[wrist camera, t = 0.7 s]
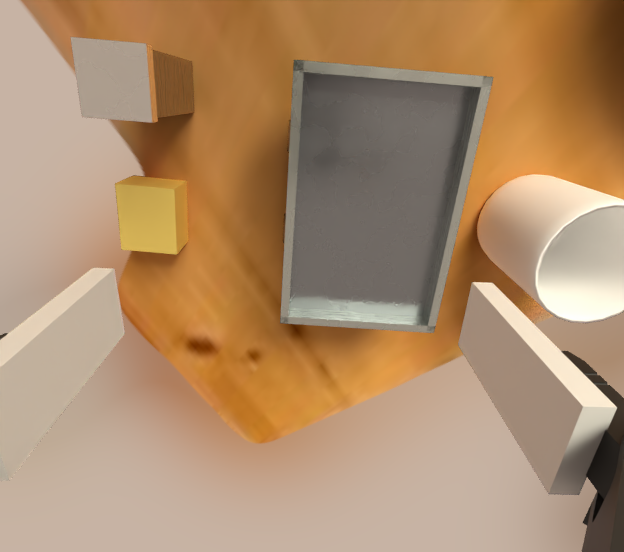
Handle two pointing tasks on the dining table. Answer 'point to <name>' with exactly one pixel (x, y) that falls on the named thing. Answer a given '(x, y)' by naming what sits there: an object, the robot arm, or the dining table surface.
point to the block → (152, 214)
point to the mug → (558, 245)
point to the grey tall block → (130, 81)
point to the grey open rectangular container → (375, 192)
